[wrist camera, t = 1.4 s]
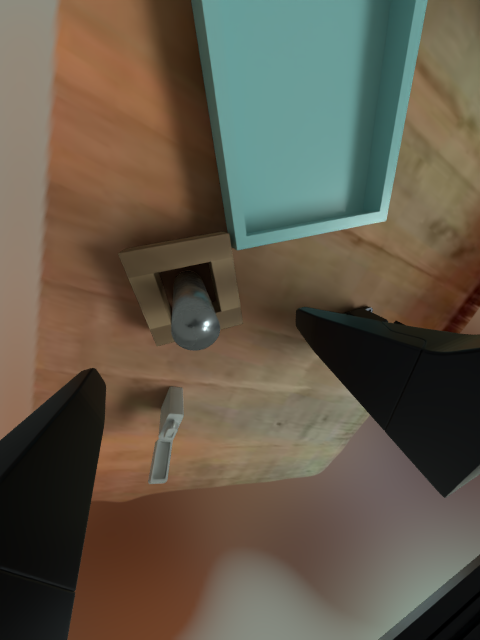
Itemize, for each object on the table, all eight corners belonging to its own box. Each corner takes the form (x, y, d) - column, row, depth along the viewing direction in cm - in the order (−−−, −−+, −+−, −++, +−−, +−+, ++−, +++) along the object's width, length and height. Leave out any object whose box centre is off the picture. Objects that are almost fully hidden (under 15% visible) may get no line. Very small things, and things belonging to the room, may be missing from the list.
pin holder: (236, 312, 24) (243, 323, 22) (159, 331, 23) (156, 346, 20) (222, 231, 20) (229, 233, 17) (126, 248, 18) (117, 253, 16)
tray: (363, 220, 23) (386, 220, 21) (229, 246, 21) (237, 250, 18) (400, -52, 15) (448, -110, 12) (180, -70, 12) (180, -148, 9)
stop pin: (206, 294, 22) (223, 343, 14) (178, 301, 22) (179, 355, 13) (199, 267, 21) (214, 302, 12) (169, 273, 20) (164, 314, 12)
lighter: (170, 386, 26) (167, 445, 19) (183, 388, 27) (185, 446, 20) (154, 424, 28) (147, 489, 22) (166, 425, 29) (163, 489, 22)
